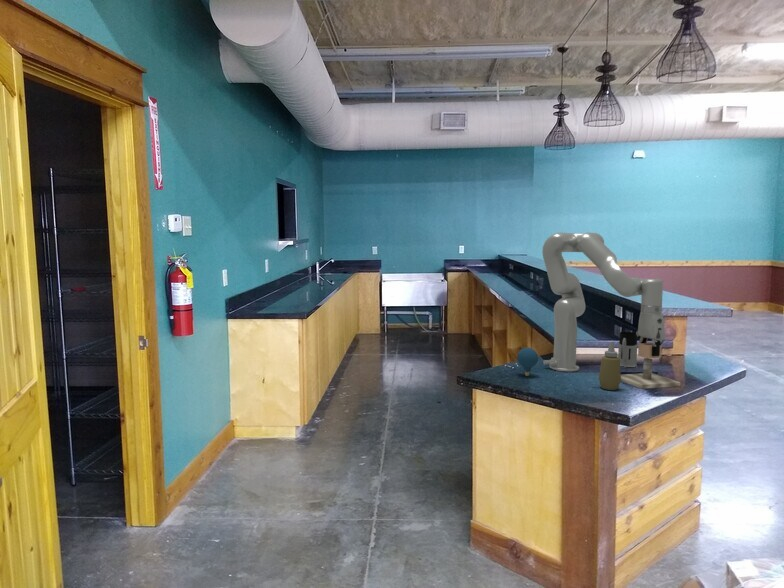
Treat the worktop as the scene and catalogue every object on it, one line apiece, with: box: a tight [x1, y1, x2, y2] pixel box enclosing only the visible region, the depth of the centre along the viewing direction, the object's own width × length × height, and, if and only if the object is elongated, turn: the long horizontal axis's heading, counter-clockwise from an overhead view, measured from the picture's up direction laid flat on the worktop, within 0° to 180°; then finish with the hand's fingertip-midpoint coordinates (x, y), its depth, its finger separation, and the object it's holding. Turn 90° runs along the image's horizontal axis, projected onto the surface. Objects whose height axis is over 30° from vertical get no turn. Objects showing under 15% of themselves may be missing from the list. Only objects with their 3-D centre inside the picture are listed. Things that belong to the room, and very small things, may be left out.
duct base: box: [621, 357, 682, 390], centre depth 220 cm, size 18×16×10 cm
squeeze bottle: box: [598, 341, 622, 391], centre depth 210 cm, size 8×8×18 cm
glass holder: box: [617, 331, 638, 368], centre depth 248 cm, size 9×14×15 cm, turn 144°
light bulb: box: [517, 347, 539, 377], centre depth 228 cm, size 8×8×12 cm
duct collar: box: [637, 342, 663, 359], centre depth 219 cm, size 6×6×5 cm
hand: (649, 354), depth 219 cm, fingers closed on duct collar, 6 cm apart
